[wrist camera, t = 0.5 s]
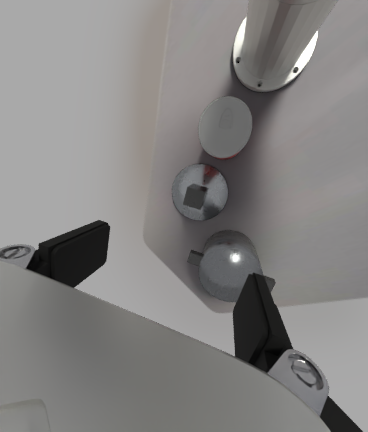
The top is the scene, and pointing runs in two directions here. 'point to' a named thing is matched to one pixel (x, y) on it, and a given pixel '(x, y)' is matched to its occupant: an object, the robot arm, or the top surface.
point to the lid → (199, 192)
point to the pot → (227, 264)
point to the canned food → (225, 127)
